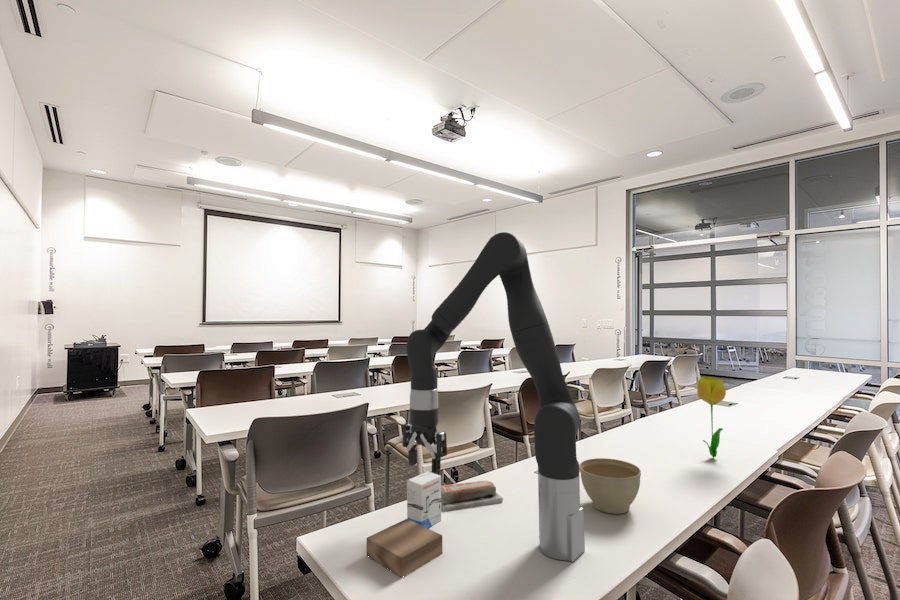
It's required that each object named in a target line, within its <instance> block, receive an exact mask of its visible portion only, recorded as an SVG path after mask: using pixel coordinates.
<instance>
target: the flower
mask: <svg viewBox="0 0 900 600" xmlns="http://www.w3.org/2000/svg"><path fill="white" fill-rule="evenodd" d="M696 386H697V387H696V391H697V396H698V398H699V399H700V400H702V401H704V402H706V403H707V404H709V405H710V417H711V422H710V423H711V438H710V439H711V441H710V445H709V444H708V442H707V441H706V440H705V439H703V440H702V442H703V443H705V444H706V446H707V447H708V451H709V454H710V456H711V457H712V459H713V460H714V459H715V458H717V455H718V451H717V450H718V447H719V444H720V440H721V439H720V435H721V431H723V430H724V428H721V427H719V428H718V429H717V430H716V431H715V432H714V430H713V429H714V427H713V425H714V424H713V418H714V417H713V416H714V415H713V410H714V408H713V407H714V405H717V404H719V403H720V402H722V401H724V399H725V398H726V394H727V390H726V388H725V386H724V381H723V379H717V378H716V377H712V376H708V377H706V376H700V378H699V379H698V382H697V385H696ZM713 432H714V433H713Z"/></svg>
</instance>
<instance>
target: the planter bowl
mask: <svg viewBox="0 0 900 600" xmlns="http://www.w3.org/2000/svg"><path fill="white" fill-rule="evenodd" d="M579 473H580V479H581V480H580V481H581V482H582V486H583V489H584V490H585V493H586V494H587V496H588V498H589V499H590V500H591V501H592V506H593V507H594V509H596V510H598V511H601V512H603V513H607V514H625V513H627V512H628V511H629V510H630V507H631V505H632V504H633V502H634V501H635V499H636V497H637V495H638V494H639V490H640V485H641V476H642V475H641V474H642V470H641V468H640V467H639V466H638V465H635V464H633V463H631V462H627V461H624V460H620V459H615V458H604V457H602V458H601V457H599V458H598V457H597V458H589V459H584V460H583V461H581V462H580V463H579Z"/></svg>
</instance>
